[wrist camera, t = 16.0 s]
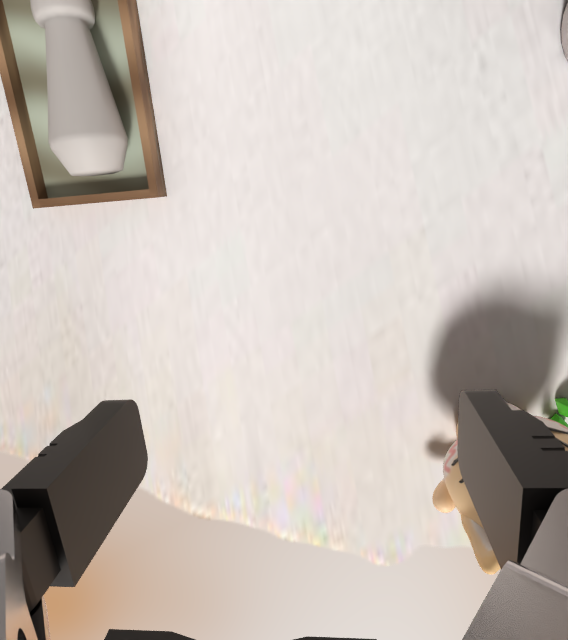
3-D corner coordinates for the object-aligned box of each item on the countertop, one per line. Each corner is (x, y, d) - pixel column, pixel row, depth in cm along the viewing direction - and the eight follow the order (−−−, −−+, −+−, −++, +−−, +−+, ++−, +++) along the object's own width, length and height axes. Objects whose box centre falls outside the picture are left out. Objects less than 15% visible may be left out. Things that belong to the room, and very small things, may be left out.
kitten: (565, 355, 40) (691, 452, 26) (585, 449, 43) (709, 584, 29) (400, 398, 43) (432, 507, 29) (427, 484, 46) (469, 622, 32)
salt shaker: (49, 170, 33) (3, -35, 30) (61, 180, 38) (23, 7, 35) (133, 163, 34) (97, -31, 32) (133, 174, 40) (102, 8, 37)
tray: (-9, -32, 36) (-28, -43, 34) (127, -54, 34) (115, -68, 33) (46, 206, 41) (33, 208, 39) (166, 196, 40) (158, 197, 38)
